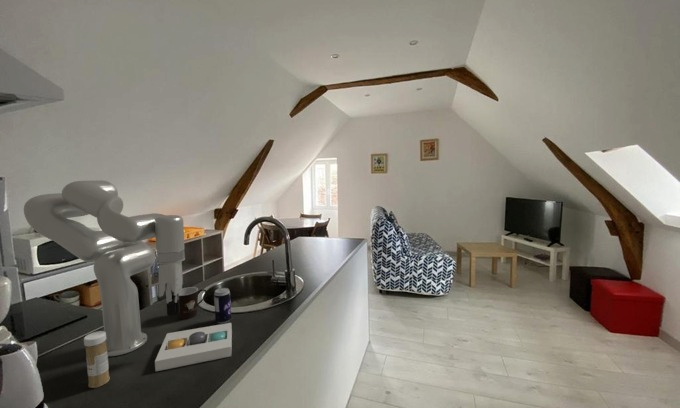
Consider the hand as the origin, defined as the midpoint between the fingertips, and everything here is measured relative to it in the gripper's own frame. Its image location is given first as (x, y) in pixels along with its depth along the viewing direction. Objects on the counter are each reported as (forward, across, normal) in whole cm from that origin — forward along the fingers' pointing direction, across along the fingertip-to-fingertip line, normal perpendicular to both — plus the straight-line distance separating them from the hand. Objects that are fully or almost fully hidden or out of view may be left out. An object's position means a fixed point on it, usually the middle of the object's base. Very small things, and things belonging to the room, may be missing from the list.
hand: (173, 313), depth 93 cm
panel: (+12, +1, +7) cm, 14 cm away
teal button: (+11, +1, +13) cm, 17 cm away
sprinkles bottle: (+13, +10, -16) cm, 23 cm away
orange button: (+11, +1, +1) cm, 11 cm away
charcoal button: (+10, +1, +7) cm, 12 cm away
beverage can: (+12, -16, +13) cm, 24 cm away
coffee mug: (+13, -26, +1) cm, 29 cm away
